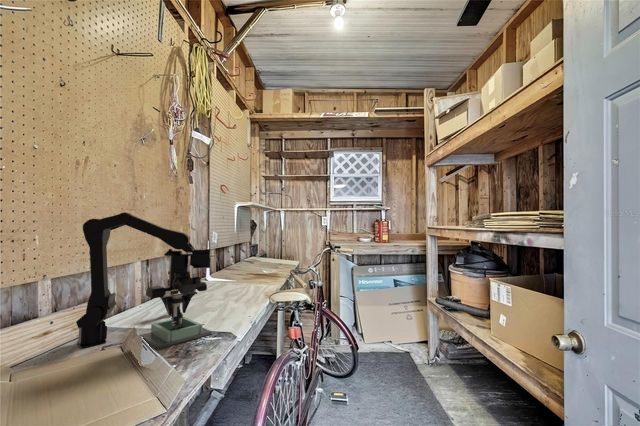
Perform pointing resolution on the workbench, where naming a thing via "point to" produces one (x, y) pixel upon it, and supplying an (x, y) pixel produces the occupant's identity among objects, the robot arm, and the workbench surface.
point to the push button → (177, 309)
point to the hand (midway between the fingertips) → (176, 314)
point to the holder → (163, 330)
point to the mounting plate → (160, 343)
